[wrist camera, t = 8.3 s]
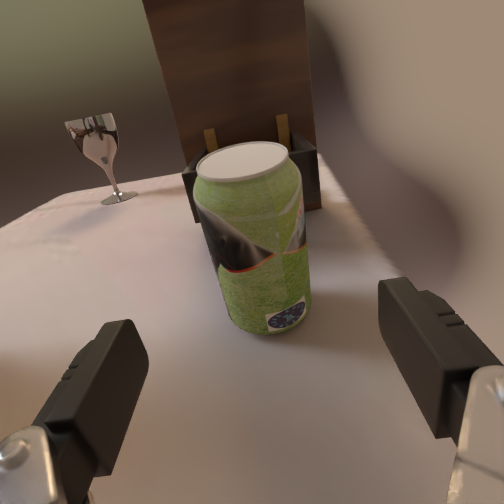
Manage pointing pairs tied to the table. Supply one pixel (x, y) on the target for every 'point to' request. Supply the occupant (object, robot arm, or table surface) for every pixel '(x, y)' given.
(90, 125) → the wine glass
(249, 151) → the beverage can
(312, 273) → the table surface
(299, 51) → the wooden backboard stand
